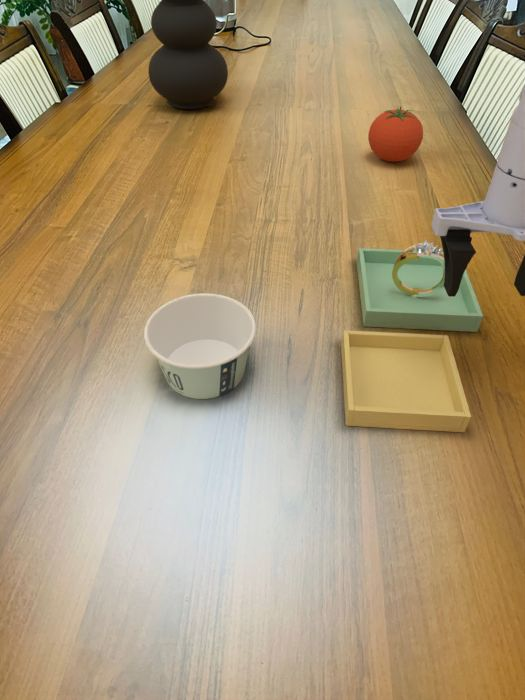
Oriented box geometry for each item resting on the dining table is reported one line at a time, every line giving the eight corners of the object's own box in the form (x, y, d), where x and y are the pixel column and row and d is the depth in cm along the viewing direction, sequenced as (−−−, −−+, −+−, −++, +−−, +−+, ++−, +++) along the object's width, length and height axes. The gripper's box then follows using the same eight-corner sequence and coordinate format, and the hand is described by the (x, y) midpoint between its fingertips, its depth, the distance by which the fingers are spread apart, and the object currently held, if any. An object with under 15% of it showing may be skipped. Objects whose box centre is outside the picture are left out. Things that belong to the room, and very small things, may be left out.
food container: (277, 366, 59) (279, 323, 55) (203, 427, 53) (197, 385, 48) (206, 321, 65) (202, 279, 61) (131, 372, 59) (120, 329, 54)
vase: (220, 119, 117) (209, -81, 92) (142, 114, 119) (112, -83, 94) (235, 93, 130) (230, -88, 105) (165, 89, 132) (144, -89, 107)
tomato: (354, 154, 103) (361, 102, 96) (395, 145, 106) (404, 94, 99) (386, 174, 96) (395, 120, 89) (428, 164, 99) (440, 110, 93)
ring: (442, 294, 68) (458, 243, 63) (439, 308, 66) (456, 256, 61) (390, 284, 70) (401, 232, 65) (386, 297, 68) (397, 245, 62)
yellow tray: (442, 351, 61) (448, 335, 60) (464, 432, 53) (471, 416, 51) (340, 346, 62) (343, 330, 60) (345, 425, 53) (348, 409, 51)
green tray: (454, 267, 74) (459, 252, 72) (477, 332, 64) (483, 316, 62) (356, 263, 75) (358, 248, 73) (363, 326, 65) (366, 310, 63)
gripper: (462, 189, 42) (426, 314, 52) (635, 188, 43) (568, 313, 52) (440, 154, 48) (411, 274, 57) (595, 153, 48) (540, 273, 57)
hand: (484, 290), depth 55 cm, fingers open, 7 cm apart
